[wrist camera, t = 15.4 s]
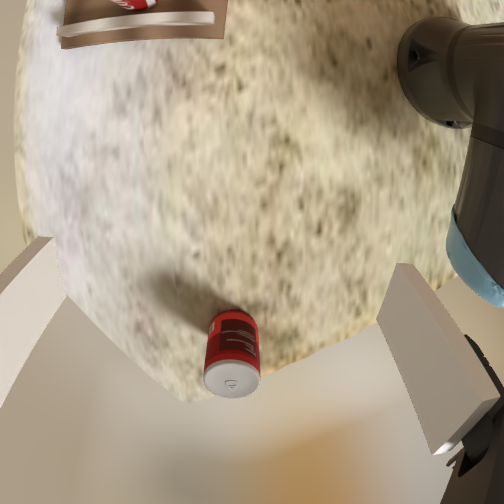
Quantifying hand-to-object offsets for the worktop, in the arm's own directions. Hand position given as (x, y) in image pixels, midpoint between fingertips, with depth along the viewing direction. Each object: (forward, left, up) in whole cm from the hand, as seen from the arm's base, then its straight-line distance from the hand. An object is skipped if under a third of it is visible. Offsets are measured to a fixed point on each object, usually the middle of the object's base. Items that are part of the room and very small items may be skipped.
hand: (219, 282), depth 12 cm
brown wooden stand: (-4, -22, -29) cm, 36 cm away
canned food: (+19, +21, -29) cm, 40 cm away
